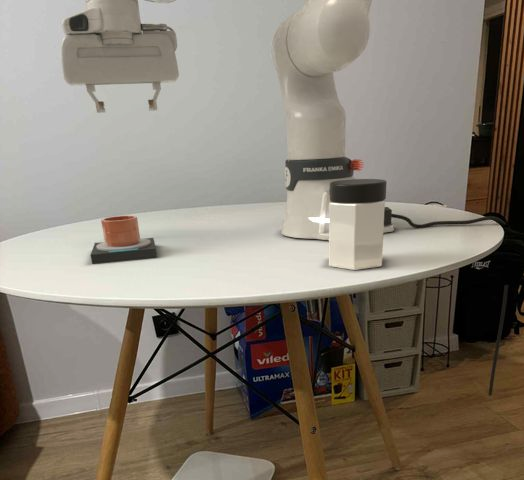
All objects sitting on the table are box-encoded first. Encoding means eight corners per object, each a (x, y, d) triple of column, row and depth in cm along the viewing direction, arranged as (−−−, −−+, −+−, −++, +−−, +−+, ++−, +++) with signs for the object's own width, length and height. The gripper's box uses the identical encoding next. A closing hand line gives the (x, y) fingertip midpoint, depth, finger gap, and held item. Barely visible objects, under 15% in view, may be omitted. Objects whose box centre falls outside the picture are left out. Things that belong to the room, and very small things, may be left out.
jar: (368, 254, 82) (371, 177, 77) (395, 265, 75) (400, 181, 70) (318, 261, 80) (318, 181, 75) (340, 272, 72) (341, 185, 68)
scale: (154, 245, 98) (153, 235, 97) (156, 257, 88) (155, 246, 87) (96, 251, 96) (94, 240, 95) (92, 263, 86) (89, 252, 85)
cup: (140, 239, 94) (136, 214, 92) (140, 245, 89) (137, 219, 87) (106, 242, 93) (102, 217, 91) (104, 248, 87) (100, 222, 86)
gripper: (173, 27, 92) (182, 110, 98) (57, 28, 88) (72, 114, 94) (176, 19, 87) (185, 108, 92) (52, 20, 83) (68, 112, 88)
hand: (127, 111), depth 93 cm, fingers open, 8 cm apart
